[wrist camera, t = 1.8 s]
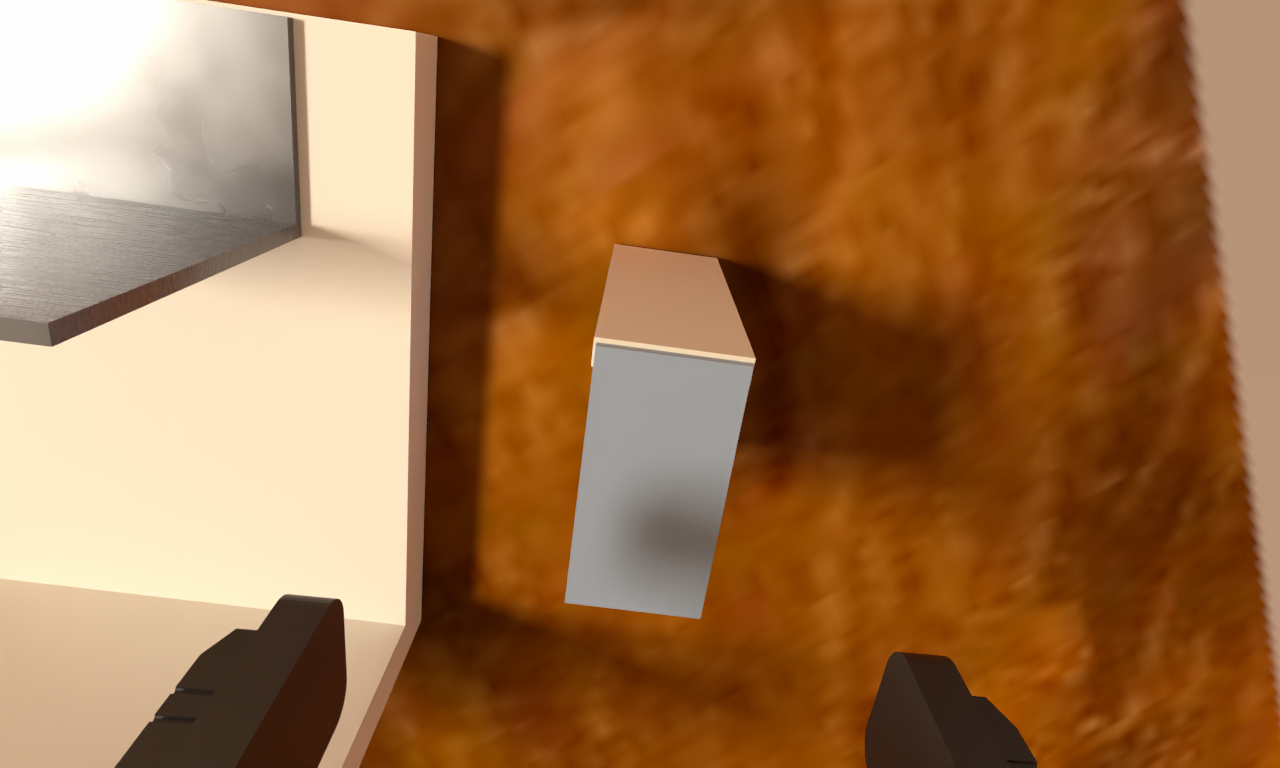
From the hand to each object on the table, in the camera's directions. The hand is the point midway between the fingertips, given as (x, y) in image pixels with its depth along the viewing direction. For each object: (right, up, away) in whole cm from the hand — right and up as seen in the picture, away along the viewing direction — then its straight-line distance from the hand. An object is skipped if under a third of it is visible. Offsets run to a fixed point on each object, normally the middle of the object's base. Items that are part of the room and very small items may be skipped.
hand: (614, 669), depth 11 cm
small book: (+1, +5, +12) cm, 14 cm away
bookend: (-13, +11, +8) cm, 19 cm away
